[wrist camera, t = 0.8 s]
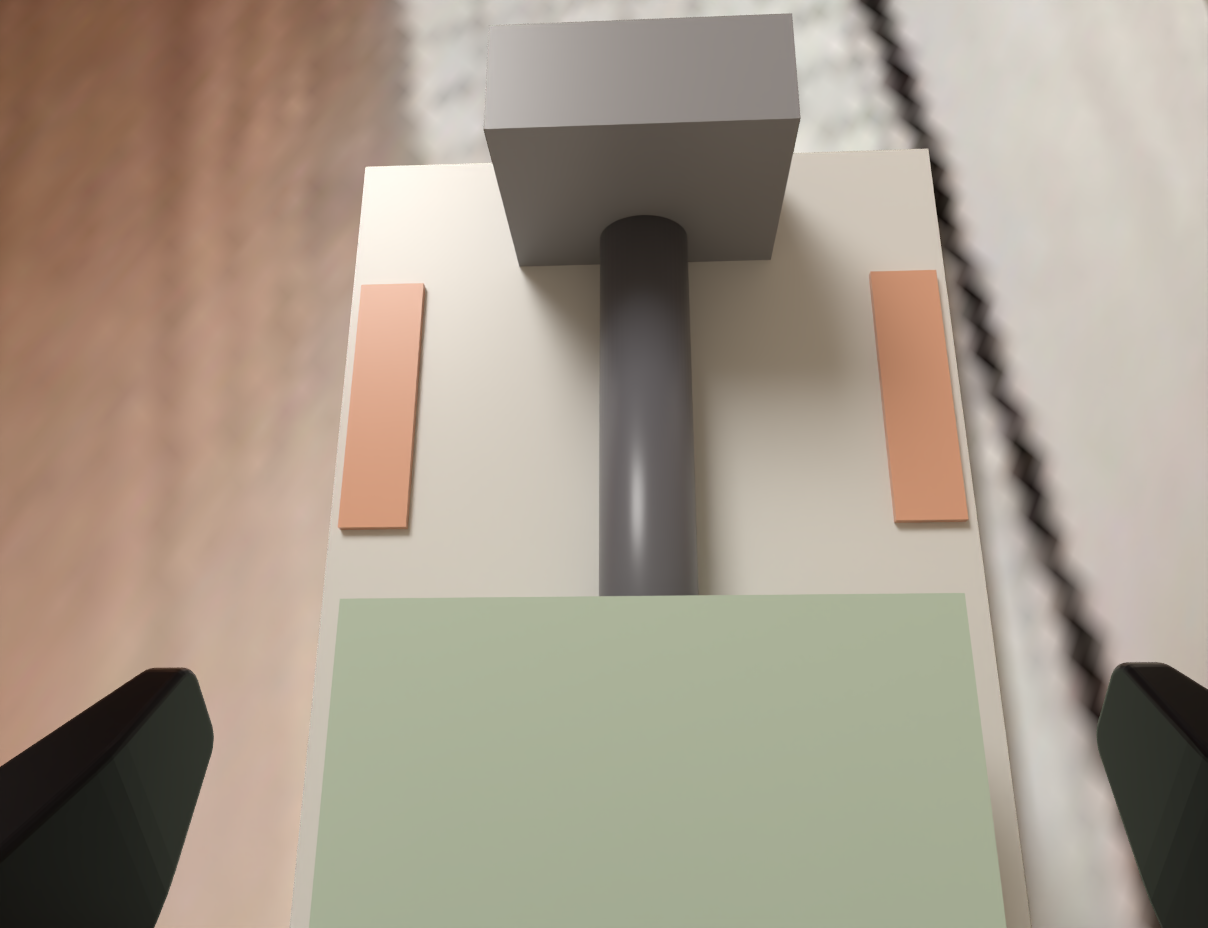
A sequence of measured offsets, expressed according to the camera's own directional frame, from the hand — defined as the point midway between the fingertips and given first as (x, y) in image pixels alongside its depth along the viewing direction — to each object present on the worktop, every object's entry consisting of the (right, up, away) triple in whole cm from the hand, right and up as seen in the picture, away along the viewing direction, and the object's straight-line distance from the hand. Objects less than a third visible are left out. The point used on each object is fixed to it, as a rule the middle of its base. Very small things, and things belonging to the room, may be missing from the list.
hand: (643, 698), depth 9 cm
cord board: (+1, 0, +12) cm, 12 cm away
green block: (+1, -4, +9) cm, 10 cm away
